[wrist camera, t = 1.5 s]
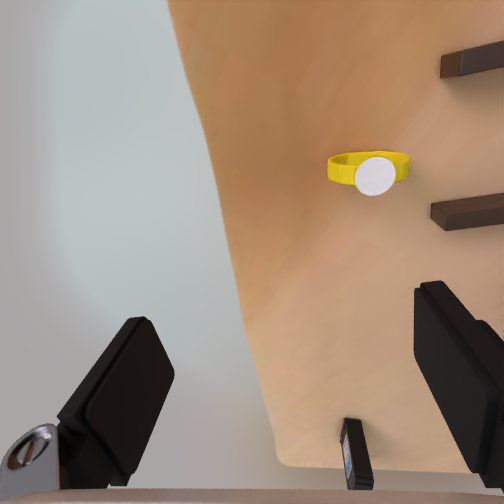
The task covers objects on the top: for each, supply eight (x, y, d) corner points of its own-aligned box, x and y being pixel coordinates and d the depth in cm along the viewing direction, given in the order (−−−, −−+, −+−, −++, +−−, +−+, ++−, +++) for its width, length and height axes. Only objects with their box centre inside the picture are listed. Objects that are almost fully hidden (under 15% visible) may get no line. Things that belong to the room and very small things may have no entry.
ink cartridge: (344, 416, 42) (355, 480, 35) (360, 418, 42) (375, 483, 35) (339, 436, 44) (348, 501, 37) (354, 438, 44) (367, 503, 37)
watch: (398, 140, 25) (427, 152, 20) (394, 173, 26) (420, 193, 21) (325, 146, 26) (334, 159, 20) (324, 178, 27) (332, 198, 22)
